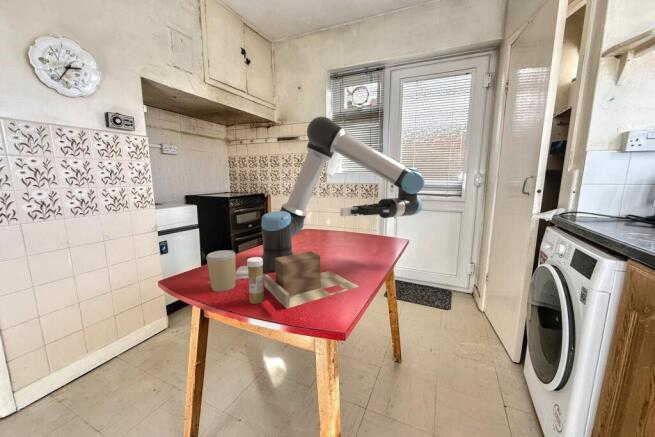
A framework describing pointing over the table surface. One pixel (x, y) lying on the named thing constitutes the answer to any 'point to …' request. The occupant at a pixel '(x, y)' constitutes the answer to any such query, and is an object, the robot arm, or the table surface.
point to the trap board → (326, 281)
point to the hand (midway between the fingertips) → (341, 212)
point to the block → (298, 272)
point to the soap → (242, 272)
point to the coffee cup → (222, 270)
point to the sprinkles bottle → (255, 280)
